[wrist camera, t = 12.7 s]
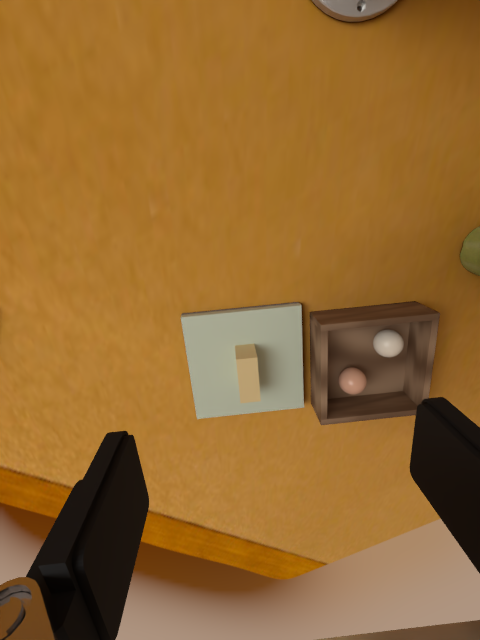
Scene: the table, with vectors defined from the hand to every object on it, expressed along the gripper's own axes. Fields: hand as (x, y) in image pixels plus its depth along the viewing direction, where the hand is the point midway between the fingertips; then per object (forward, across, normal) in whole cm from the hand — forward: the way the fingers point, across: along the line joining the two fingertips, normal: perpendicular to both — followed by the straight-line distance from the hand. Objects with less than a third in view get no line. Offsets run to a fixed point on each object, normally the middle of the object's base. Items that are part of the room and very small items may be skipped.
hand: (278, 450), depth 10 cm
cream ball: (+30, -18, +10) cm, 37 cm away
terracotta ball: (+30, -14, +16) cm, 36 cm away
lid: (+30, 0, +12) cm, 32 cm away
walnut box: (+30, -16, +13) cm, 37 cm away
